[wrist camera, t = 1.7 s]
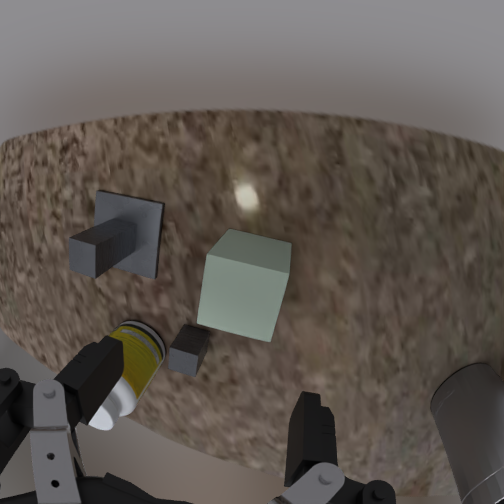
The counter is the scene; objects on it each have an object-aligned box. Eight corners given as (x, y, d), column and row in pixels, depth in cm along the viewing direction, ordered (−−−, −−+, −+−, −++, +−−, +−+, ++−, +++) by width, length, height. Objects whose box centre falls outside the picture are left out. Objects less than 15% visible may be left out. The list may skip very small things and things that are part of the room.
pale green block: (291, 243, 25) (289, 273, 19) (276, 299, 27) (270, 342, 20) (229, 228, 25) (206, 253, 19) (219, 284, 27) (196, 323, 21)
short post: (210, 331, 29) (198, 356, 25) (206, 352, 30) (195, 377, 26) (184, 324, 29) (169, 347, 25) (182, 344, 30) (168, 368, 26)
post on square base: (164, 203, 25) (122, 221, 19) (156, 277, 28) (119, 312, 21) (99, 190, 26) (49, 204, 19) (96, 259, 28) (52, 286, 22)
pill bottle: (117, 310, 30) (55, 371, 19) (170, 331, 30) (120, 406, 19) (115, 353, 32) (65, 415, 21) (163, 373, 32) (122, 445, 21)
